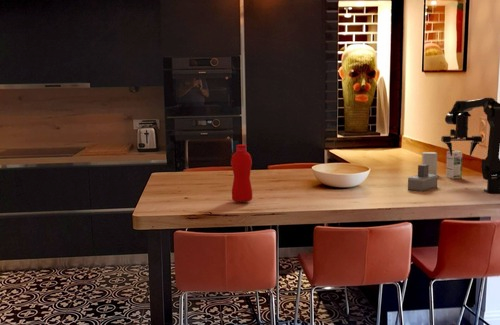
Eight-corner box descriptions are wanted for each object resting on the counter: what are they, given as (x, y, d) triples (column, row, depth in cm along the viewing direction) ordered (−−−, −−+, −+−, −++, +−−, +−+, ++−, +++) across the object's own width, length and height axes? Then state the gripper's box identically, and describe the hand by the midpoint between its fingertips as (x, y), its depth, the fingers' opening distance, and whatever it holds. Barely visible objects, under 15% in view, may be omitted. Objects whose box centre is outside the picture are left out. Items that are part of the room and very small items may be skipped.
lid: (422, 181, 244) (423, 167, 243) (408, 179, 249) (408, 166, 248) (437, 176, 255) (438, 163, 254) (423, 175, 260) (423, 162, 259)
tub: (422, 191, 245) (422, 181, 244) (407, 189, 250) (408, 179, 249) (437, 186, 256) (437, 176, 255) (422, 185, 261) (423, 175, 260)
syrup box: (452, 178, 277) (453, 152, 275) (445, 177, 282) (446, 150, 280) (461, 178, 278) (462, 151, 276) (454, 176, 284) (455, 150, 282)
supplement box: (436, 176, 286) (437, 153, 284) (422, 175, 287) (423, 153, 286) (434, 174, 293) (435, 151, 291) (421, 173, 295) (421, 151, 293)
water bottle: (251, 196, 239) (251, 142, 235) (252, 201, 228) (252, 145, 225) (231, 197, 239) (230, 143, 235) (231, 202, 228) (230, 146, 224)
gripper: (477, 124, 269) (476, 154, 271) (440, 124, 273) (439, 153, 275) (482, 125, 258) (481, 156, 260) (443, 125, 262) (442, 156, 264)
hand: (460, 155), depth 265 cm, fingers open, 9 cm apart
